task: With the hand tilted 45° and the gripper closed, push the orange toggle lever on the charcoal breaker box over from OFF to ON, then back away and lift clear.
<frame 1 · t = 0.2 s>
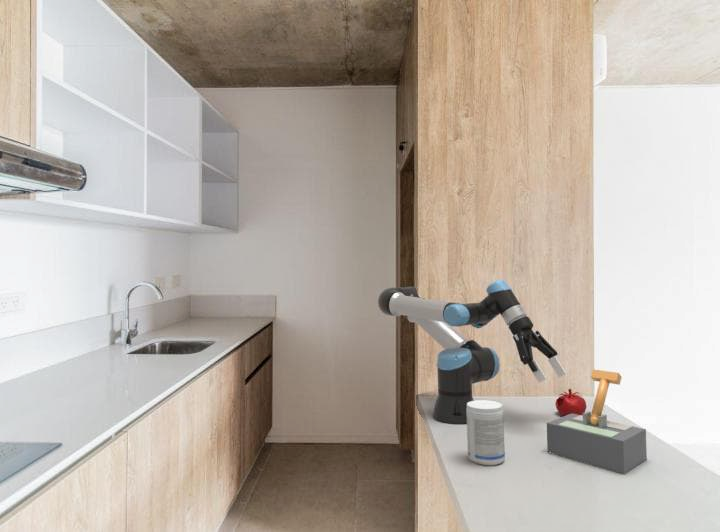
hand: (553, 378, 152), 16 cm above the countertop, tool tilted 35°, fingers open, 13 cm apart
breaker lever: (600, 398, 131), point 15 cm above the countertop, hinge at -35.0°
pomegranate: (571, 415, 166), on the countertop
supplement tub: (486, 460, 127), on the countertop
breaker box: (595, 455, 128), on the countertop
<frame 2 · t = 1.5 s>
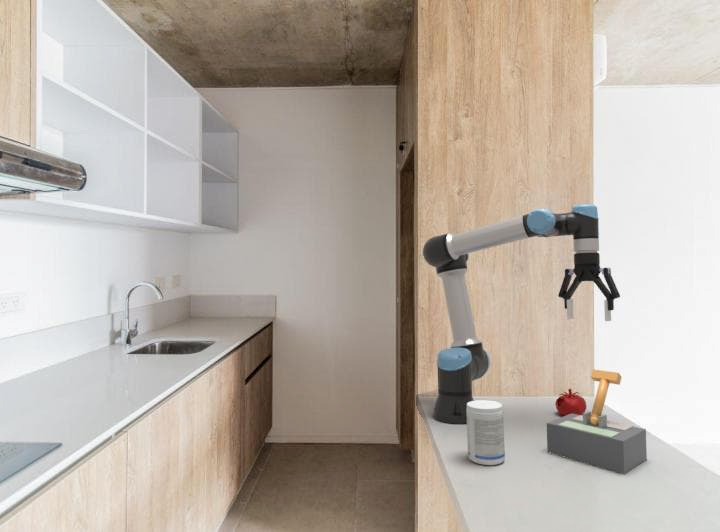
hand: (588, 319, 154), 34 cm above the countertop, tool pointing down, fingers open, 11 cm apart
nothing on the countertop moved.
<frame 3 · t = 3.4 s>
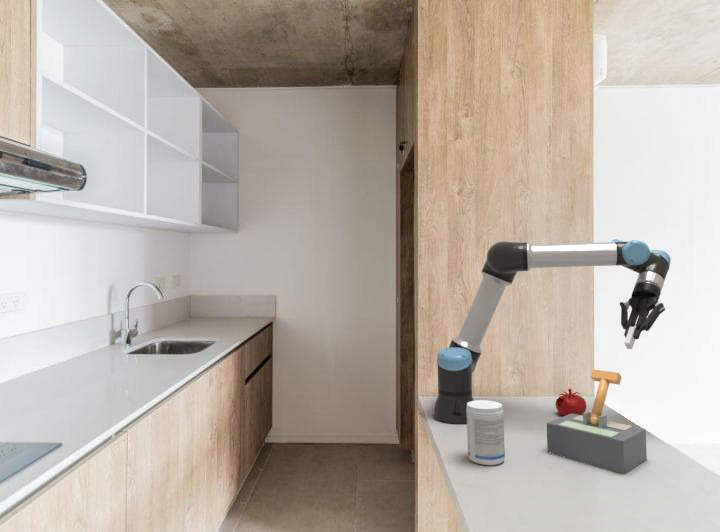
hand: (628, 346, 144), 27 cm above the countertop, tool tilted 45°, fingers closed
nothing on the countertop moved.
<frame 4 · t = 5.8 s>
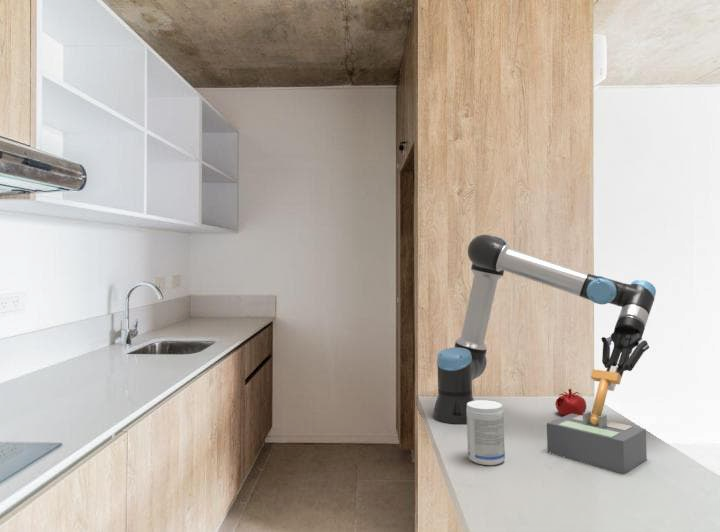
hand: (609, 387, 134), 17 cm above the countertop, tool tilted 45°, fingers closed
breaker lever: (600, 398, 131), point 15 cm above the countertop, hinge at -34.7°, touching gripper
everything else where it was.
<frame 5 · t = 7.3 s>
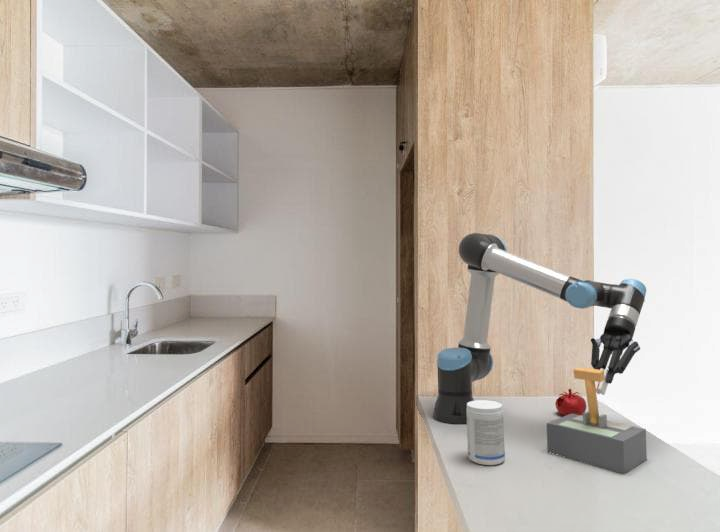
hand: (599, 391, 128), 17 cm above the countertop, tool tilted 45°, fingers closed
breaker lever: (591, 397, 128), point 16 cm above the countertop, hinge at 11.6°, touching gripper
everything else where it was.
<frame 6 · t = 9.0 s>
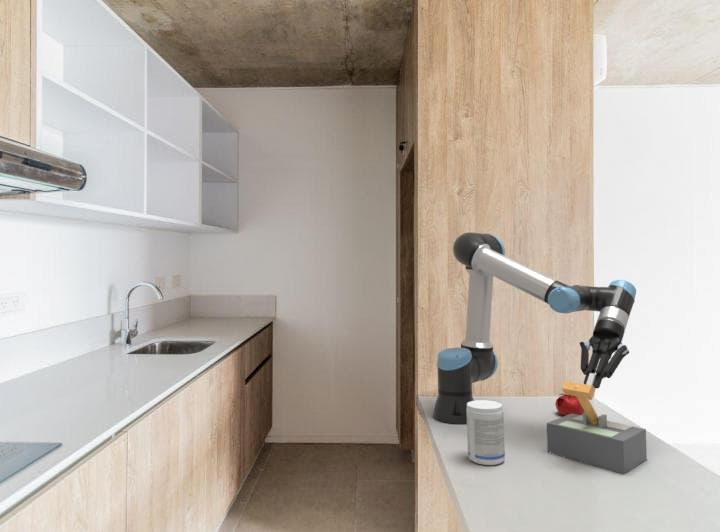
hand: (587, 396, 126), 17 cm above the countertop, tool tilted 45°, fingers closed
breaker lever: (586, 405, 126), point 14 cm above the countertop, hinge at 42.5°, touching gripper
everything else where it was.
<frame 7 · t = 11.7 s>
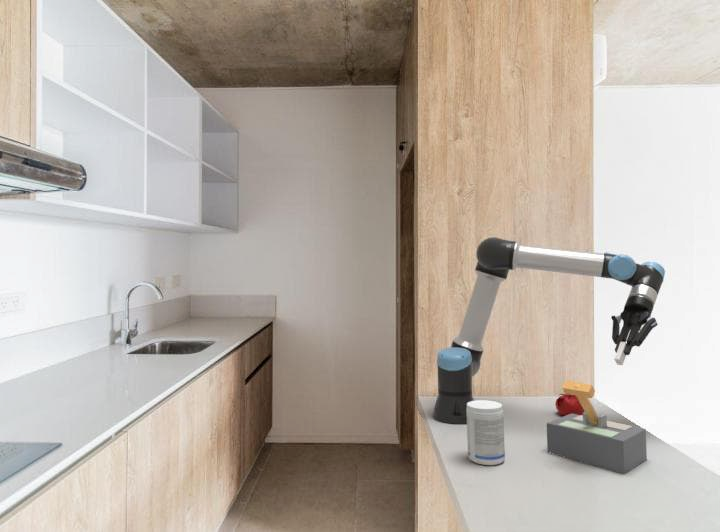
hand: (618, 362, 140), 23 cm above the countertop, tool tilted 45°, fingers closed
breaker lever: (586, 405, 126), point 14 cm above the countertop, hinge at 41.8°
everything else where it was.
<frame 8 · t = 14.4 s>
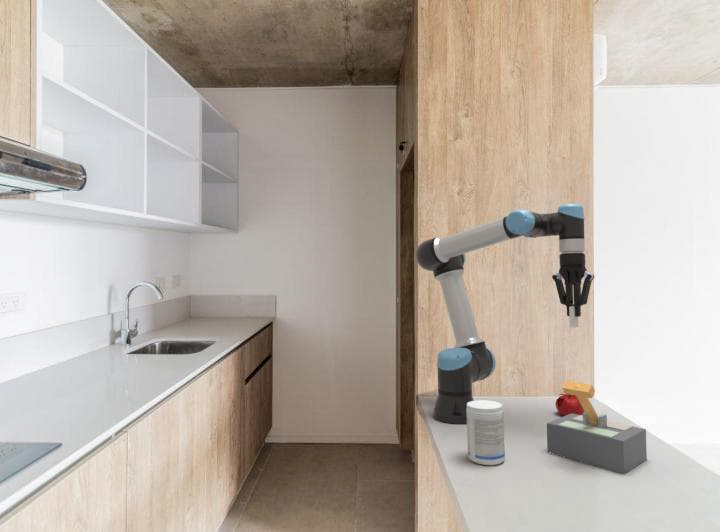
hand: (574, 326, 152), 32 cm above the countertop, tool pointing down, fingers closed
nothing on the countertop moved.
at the end: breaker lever at +42° (first picture: -35°); supplement tub moved 0.2 cm from its start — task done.
